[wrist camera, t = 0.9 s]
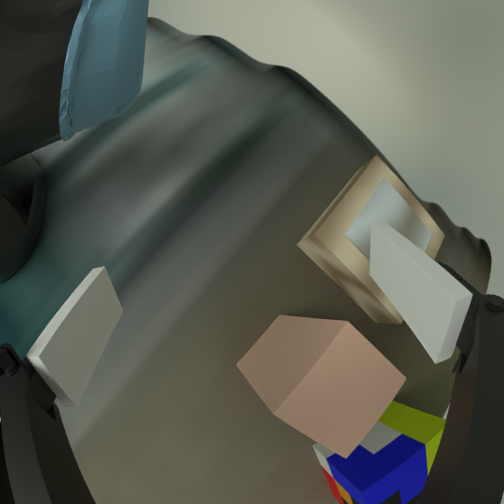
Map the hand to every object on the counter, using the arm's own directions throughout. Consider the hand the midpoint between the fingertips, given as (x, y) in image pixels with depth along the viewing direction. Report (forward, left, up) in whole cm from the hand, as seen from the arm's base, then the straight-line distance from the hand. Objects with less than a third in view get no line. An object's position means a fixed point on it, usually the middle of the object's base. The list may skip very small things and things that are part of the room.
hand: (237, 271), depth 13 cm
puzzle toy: (+25, -4, -12) cm, 28 cm away
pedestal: (+9, +14, -12) cm, 20 cm away
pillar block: (+9, -1, -12) cm, 15 cm away
